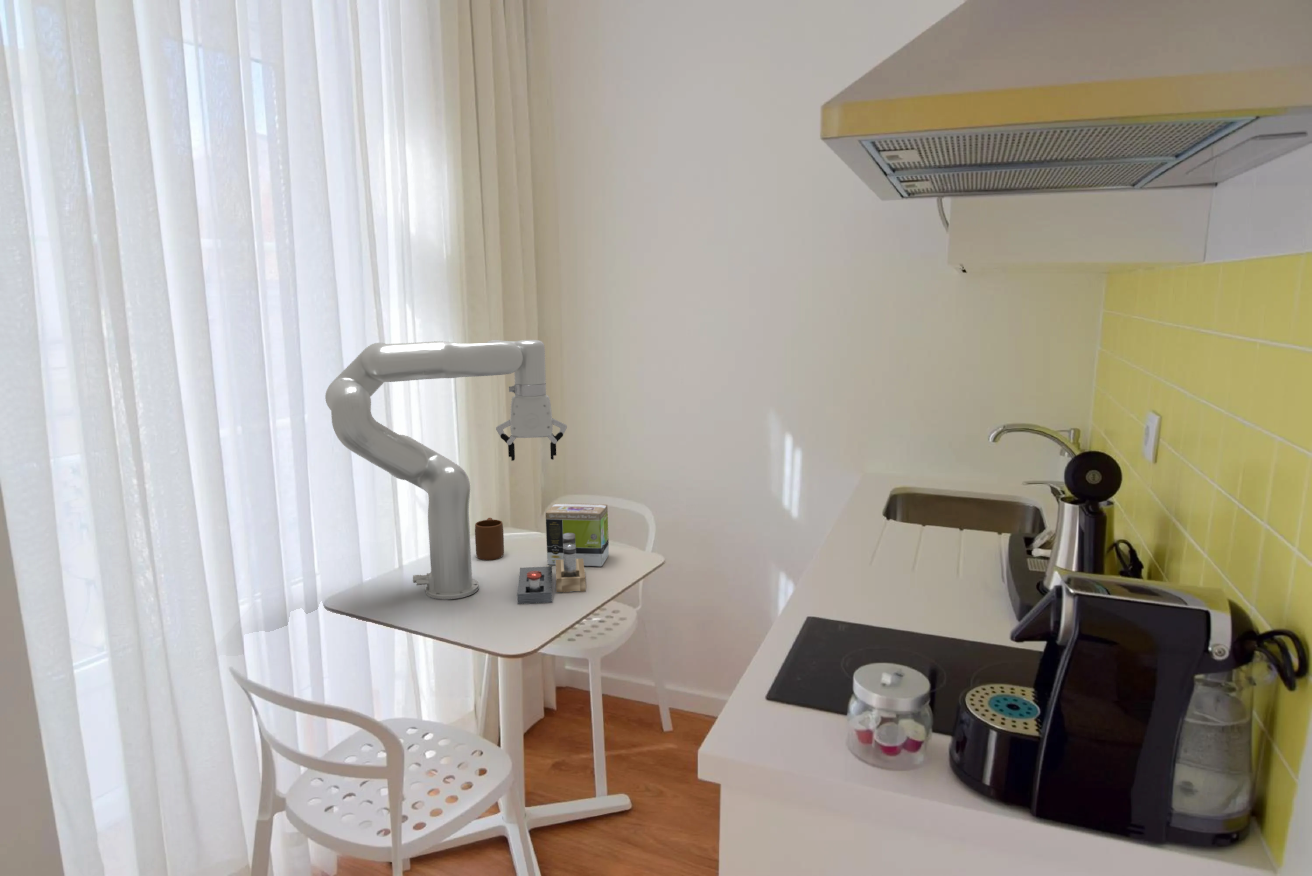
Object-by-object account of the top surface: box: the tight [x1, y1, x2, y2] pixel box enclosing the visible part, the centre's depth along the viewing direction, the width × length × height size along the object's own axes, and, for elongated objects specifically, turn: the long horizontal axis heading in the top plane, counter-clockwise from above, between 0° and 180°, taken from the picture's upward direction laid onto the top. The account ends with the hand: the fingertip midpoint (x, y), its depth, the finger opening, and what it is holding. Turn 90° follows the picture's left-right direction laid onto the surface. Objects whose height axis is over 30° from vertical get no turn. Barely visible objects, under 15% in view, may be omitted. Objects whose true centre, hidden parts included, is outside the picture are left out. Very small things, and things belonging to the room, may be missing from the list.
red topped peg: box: [527, 571, 542, 593], centre depth 184 cm, size 3×3×5 cm
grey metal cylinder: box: [563, 543, 576, 577], centre depth 191 cm, size 3×3×11 cm
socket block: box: [516, 565, 553, 605], centre depth 191 cm, size 8×18×2 cm, turn 7°
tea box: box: [545, 503, 610, 567], centre depth 211 cm, size 15×10×15 cm, turn 82°
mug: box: [474, 517, 505, 561], centre depth 217 cm, size 12×8×9 cm, turn 10°
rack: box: [555, 533, 587, 593], centre depth 195 cm, size 7×14×11 cm, turn 7°
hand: (532, 459), depth 196 cm, fingers open, 9 cm apart
